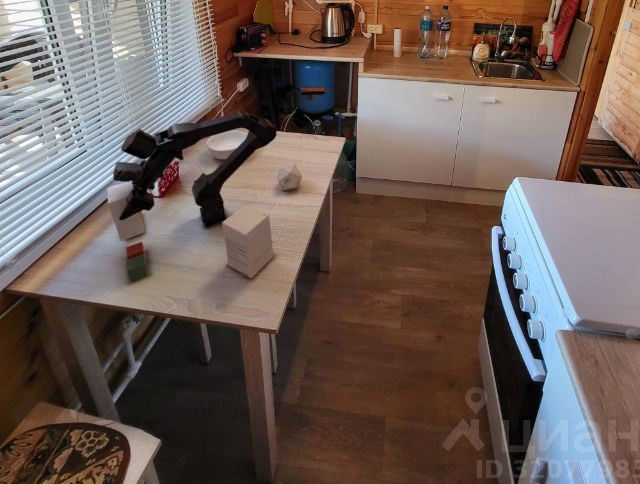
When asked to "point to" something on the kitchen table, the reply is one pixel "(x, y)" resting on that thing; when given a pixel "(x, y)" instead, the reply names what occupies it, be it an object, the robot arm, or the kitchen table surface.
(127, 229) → the small box
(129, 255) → the brick red block
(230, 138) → the cereal bowl
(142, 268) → the dark green block
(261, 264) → the rectangular carton
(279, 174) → the die
